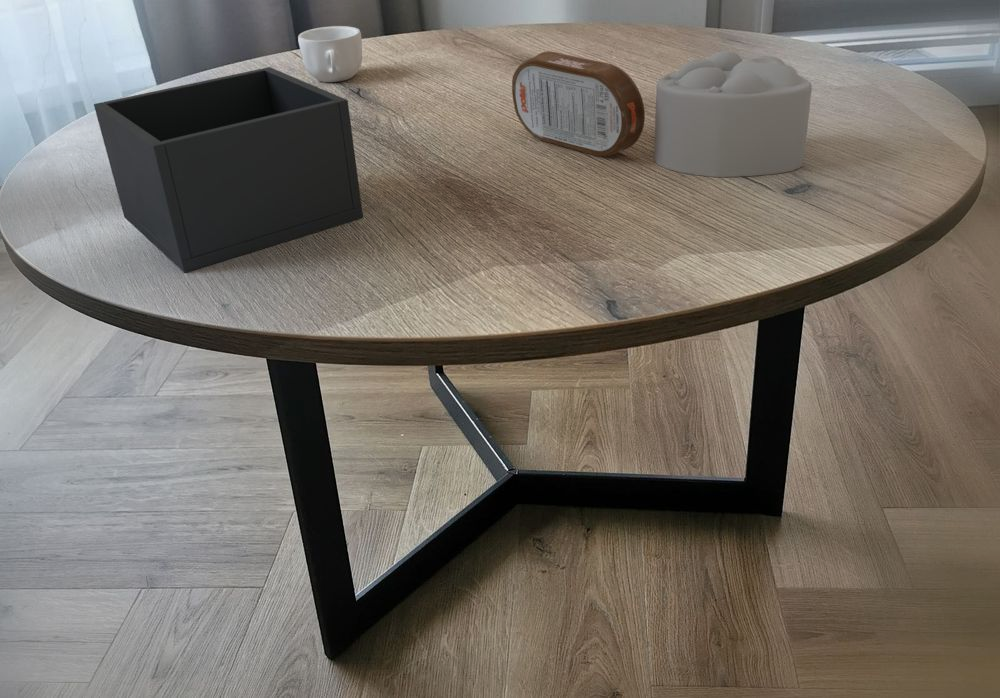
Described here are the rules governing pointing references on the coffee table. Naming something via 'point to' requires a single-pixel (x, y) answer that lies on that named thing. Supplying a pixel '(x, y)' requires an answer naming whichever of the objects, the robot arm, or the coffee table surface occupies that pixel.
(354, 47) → the teacup
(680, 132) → the lumpy-topped squat cylinder
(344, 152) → the open-topped box
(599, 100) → the tin
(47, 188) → the coffee table surface
